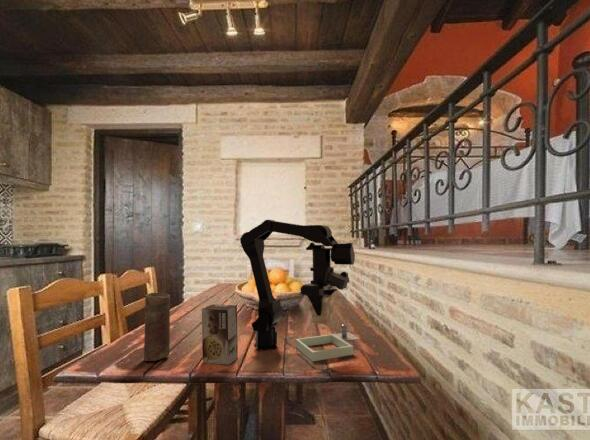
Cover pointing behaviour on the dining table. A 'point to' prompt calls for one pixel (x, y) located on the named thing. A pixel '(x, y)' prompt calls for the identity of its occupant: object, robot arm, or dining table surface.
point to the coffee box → (219, 334)
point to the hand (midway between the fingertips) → (322, 313)
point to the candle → (157, 326)
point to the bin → (342, 350)
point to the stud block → (345, 334)
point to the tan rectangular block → (324, 311)
